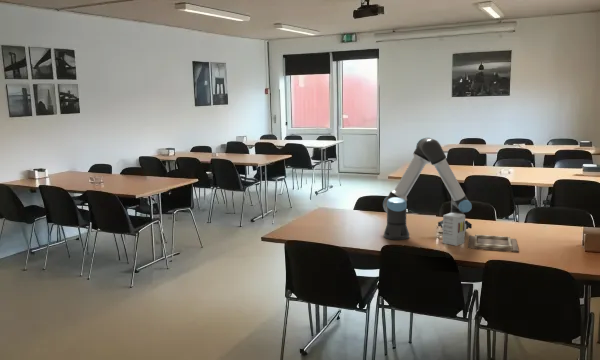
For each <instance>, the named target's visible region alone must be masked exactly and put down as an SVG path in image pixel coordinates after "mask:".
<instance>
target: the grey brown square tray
mask: <svg viewBox="0 0 600 360" xmlns="http://www.w3.org/2000/svg"><path fill="white" fill-rule="evenodd" d="M468 248H472V249H471V250H479V249H485V250H484V251H493V250H499V251H498V252H506V251H513V252H512V253H519V247H518V242H517V238H511V237H510V236H503V235H502V236H501V235H489V234H488V235H487V234H486V235H485V234H474V235H469V236H468V243H467V249H468Z"/></svg>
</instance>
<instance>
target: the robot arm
mask: <svg viewBox="0 0 600 360" xmlns="http://www.w3.org/2000/svg"><path fill="white" fill-rule="evenodd" d="M412 156H413V158H412V160H411V161H410V163H409V165H408V166H407V168H406V170H405V172H404V173H403V175H402V176H401V178H400V180H399V182H398V183H397V184H396V187H395V188H394V189H393V190H390V192H389V194H388V195H387V196H386V197H385V198H384V200H383V202H382V207H383V208H382V209H383V210H384V212H385V213H386V226H385V229H384V232H383V238H385V239H388V240H390V241H391V240H393V241H402V240H403V241H405V240H408V239H409V238H410V232H409V229H408V226H407V206H408V204H407V201H408V197H407V196H408V195H409V193H410V191H411V190H412V188H413V186H414V185H415V183H416V181H418V178H419V177H420V174H421V173H422V171H423V170H424V168H425V166H426V165H427V164H431V165H432V166H434V168H435V170H436V171H437V172H438V173H437V174H438V175H439V177H440V178H441V180H442V182H443V183H444V186H445V188H446V189H447V191H448V193H449V195H450V198H451V200H450V201H451V202H450V213H457V214H464V213H469V212H470V211H471V210H472V207H473V206H472V203H471V201H470V200H469V199H468V197H467V195H466V194H465V192H464V190H463V188H462V187H461V185H460V183H459V181H458V179H457V177H456V176H455V174H454V172H453V170H452V168H451V167H450V164H449V163H448V161H447V155H446V154H445V152H444V149H443V148H442V145H441V143H440V142H439V141H438V140H436V139H434V138H431V137H423V138H420V139H419V140H418V141H417V143H416V147H415V149H414V151H413V154H412ZM437 225H438V227H440V228H441V230H442V231H443V219H442V220H440V221H438V222H437ZM472 227H473V224H472V223H471V222H469V221H468V220H467V219H465V228H464V231H465V232H466V231H467V230H468V229H472Z"/></svg>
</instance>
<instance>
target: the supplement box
mask: <svg viewBox="0 0 600 360" xmlns="http://www.w3.org/2000/svg"><path fill="white" fill-rule="evenodd" d="M442 220H443V230H442V244H446V245H452V246H455V247H457V246H460V245H462V244H464V243H465V232H466V231H464V228H465V221H466V215H465V214H464V213H463V214H457V213H451V212H449V213H446V214H443V215H442ZM459 244H460V245H459Z"/></svg>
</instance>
